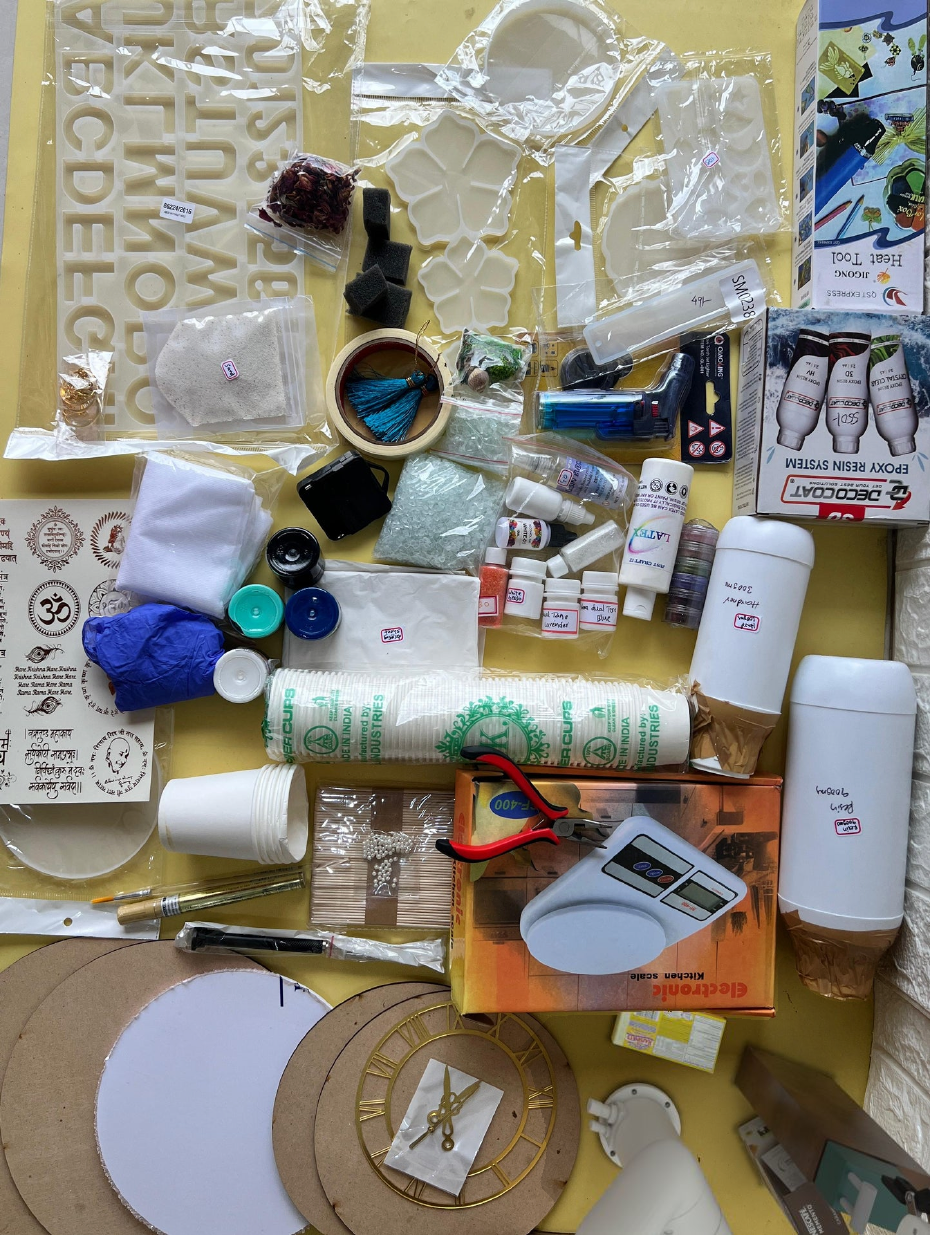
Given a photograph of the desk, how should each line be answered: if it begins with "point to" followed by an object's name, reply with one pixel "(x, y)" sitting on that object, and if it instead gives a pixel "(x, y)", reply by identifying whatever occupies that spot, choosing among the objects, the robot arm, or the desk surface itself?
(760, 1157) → the coffee box
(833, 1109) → the brown slanted block
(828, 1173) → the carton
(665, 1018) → the candy box
